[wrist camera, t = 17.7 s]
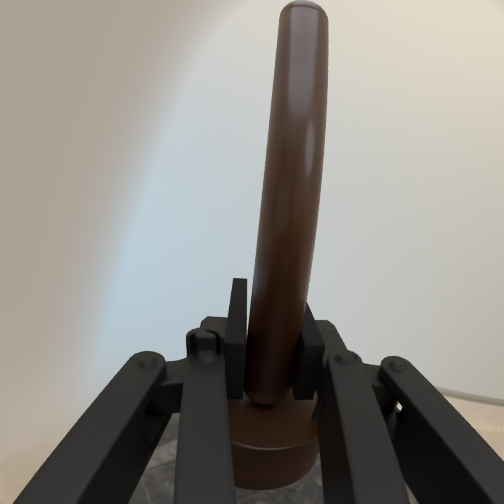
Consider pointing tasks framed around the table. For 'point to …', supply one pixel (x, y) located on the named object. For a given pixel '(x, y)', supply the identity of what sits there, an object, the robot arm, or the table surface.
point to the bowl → (277, 500)
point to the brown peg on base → (284, 262)
